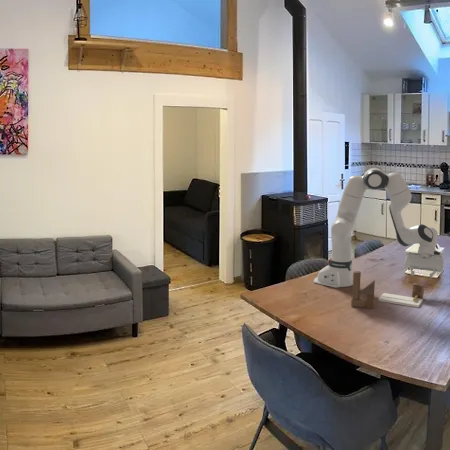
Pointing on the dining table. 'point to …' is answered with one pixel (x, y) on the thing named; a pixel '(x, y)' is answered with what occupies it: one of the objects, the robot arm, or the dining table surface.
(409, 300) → the board
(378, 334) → the dining table surface
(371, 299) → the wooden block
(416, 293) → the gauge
